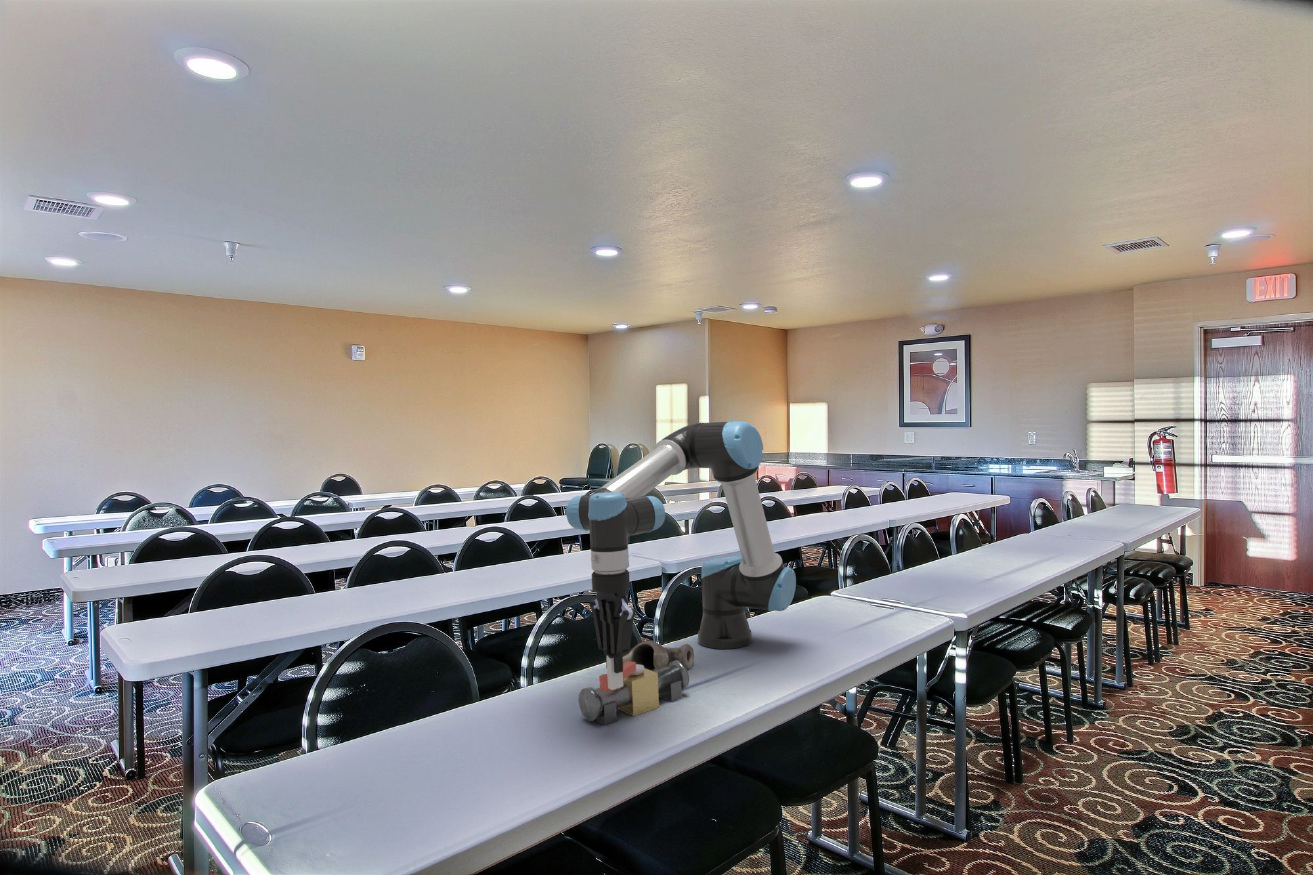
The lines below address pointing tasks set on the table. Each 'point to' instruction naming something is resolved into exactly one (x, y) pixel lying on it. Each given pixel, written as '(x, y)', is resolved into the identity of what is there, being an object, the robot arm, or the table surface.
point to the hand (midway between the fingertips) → (615, 687)
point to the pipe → (659, 655)
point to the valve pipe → (635, 693)
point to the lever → (628, 669)
